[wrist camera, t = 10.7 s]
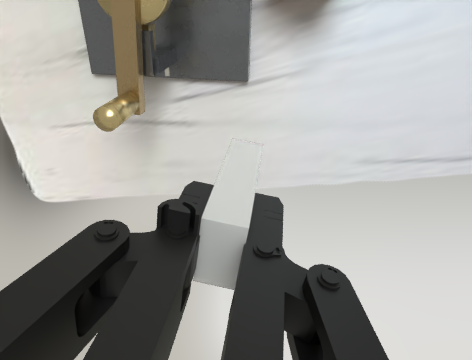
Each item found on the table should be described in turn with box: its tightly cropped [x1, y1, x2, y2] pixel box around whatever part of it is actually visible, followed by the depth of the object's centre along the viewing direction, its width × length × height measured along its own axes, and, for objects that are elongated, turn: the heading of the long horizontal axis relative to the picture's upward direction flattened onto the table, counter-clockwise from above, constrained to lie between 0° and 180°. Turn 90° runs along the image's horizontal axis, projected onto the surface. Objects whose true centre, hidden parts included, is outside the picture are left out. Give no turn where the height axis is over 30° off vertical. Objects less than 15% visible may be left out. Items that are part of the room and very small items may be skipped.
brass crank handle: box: [93, 0, 172, 132], centre depth 33 cm, size 19×8×11 cm, turn 175°
